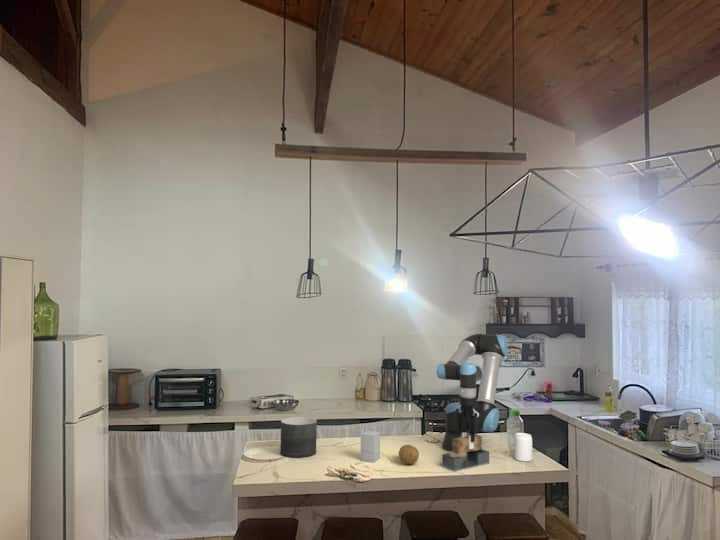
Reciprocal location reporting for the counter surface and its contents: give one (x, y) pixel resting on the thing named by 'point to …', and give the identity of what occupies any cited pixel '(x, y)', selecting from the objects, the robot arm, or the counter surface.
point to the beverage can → (523, 447)
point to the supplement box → (370, 446)
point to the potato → (408, 454)
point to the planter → (298, 437)
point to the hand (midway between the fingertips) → (467, 447)
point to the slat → (465, 444)
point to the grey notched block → (471, 461)
